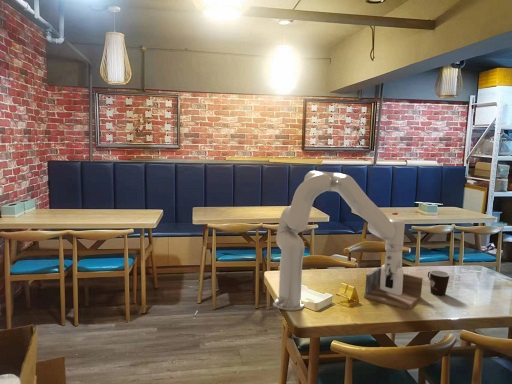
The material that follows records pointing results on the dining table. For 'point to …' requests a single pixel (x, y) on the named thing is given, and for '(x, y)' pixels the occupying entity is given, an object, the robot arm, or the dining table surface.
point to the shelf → (405, 300)
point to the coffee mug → (438, 282)
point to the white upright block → (396, 281)
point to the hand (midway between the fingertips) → (391, 285)
